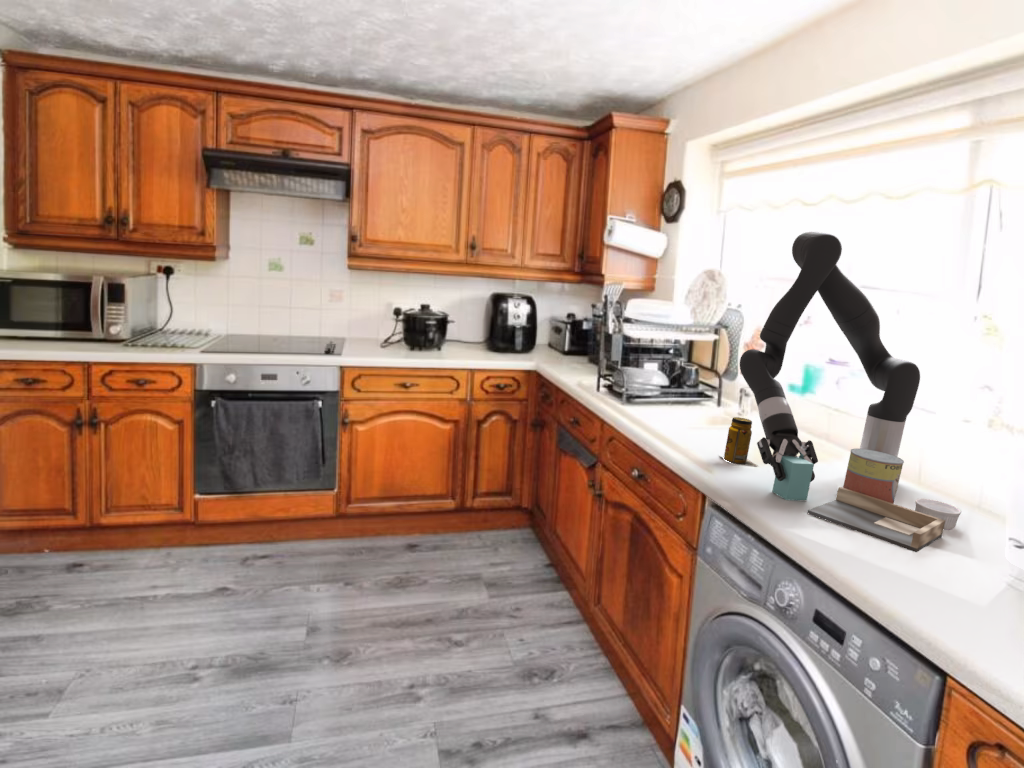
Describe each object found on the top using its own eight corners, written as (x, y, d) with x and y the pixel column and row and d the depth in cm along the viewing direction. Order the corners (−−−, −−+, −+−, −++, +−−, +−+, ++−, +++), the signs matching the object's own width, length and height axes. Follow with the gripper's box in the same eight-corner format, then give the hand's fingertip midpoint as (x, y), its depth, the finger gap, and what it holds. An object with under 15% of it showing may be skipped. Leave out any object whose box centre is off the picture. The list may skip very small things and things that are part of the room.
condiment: (718, 456, 188) (725, 415, 186) (746, 459, 189) (754, 417, 187) (728, 464, 181) (736, 421, 179) (758, 467, 182) (766, 424, 180)
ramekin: (958, 535, 146) (963, 516, 145) (912, 523, 150) (916, 505, 149) (955, 523, 154) (959, 505, 153) (910, 512, 158) (915, 495, 157)
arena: (837, 502, 159) (840, 486, 158) (941, 537, 143) (945, 520, 142) (807, 513, 148) (810, 497, 147) (916, 552, 132) (920, 534, 131)
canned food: (891, 516, 153) (903, 466, 151) (837, 502, 159) (848, 454, 156) (893, 504, 162) (904, 457, 160) (843, 491, 168) (853, 445, 166)
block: (792, 492, 162) (799, 456, 161) (806, 500, 157) (814, 464, 155) (772, 491, 161) (779, 455, 159) (785, 499, 156) (793, 463, 154)
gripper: (759, 409, 161) (778, 471, 152) (811, 413, 164) (833, 474, 155) (743, 425, 167) (761, 485, 158) (794, 428, 170) (814, 488, 161)
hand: (796, 480), depth 157 cm, fingers open, 7 cm apart
